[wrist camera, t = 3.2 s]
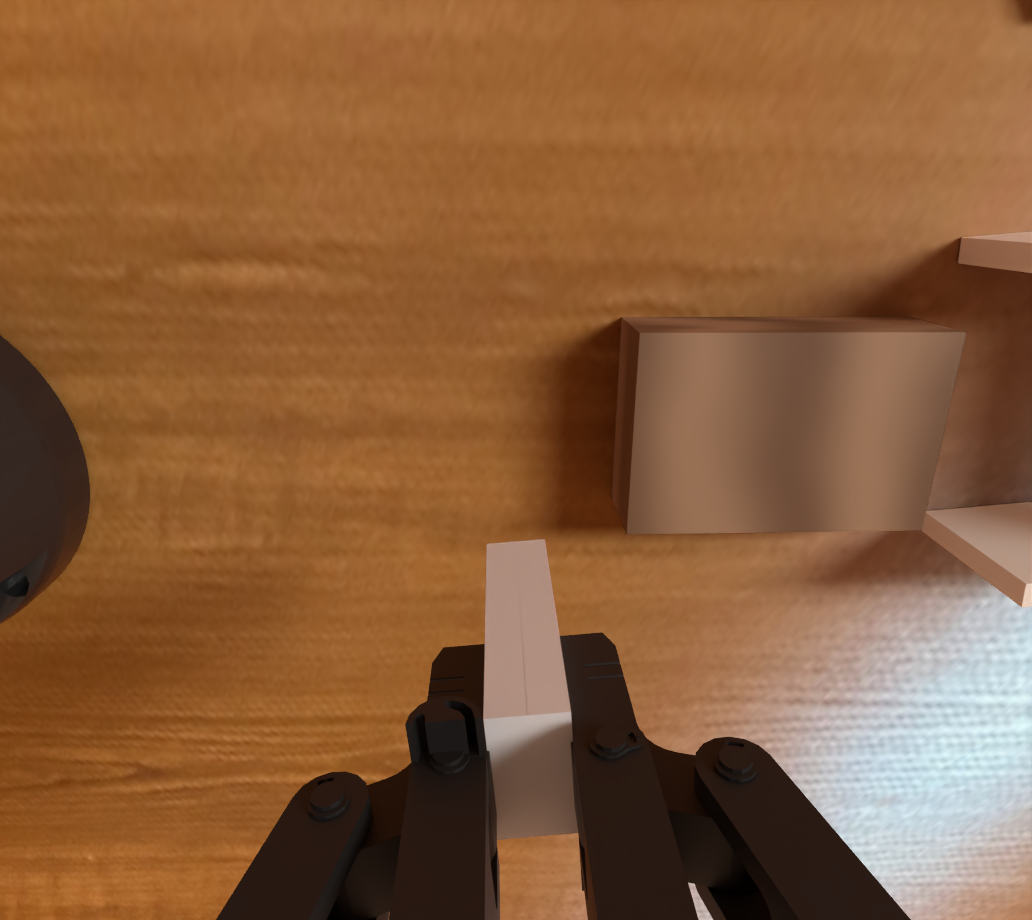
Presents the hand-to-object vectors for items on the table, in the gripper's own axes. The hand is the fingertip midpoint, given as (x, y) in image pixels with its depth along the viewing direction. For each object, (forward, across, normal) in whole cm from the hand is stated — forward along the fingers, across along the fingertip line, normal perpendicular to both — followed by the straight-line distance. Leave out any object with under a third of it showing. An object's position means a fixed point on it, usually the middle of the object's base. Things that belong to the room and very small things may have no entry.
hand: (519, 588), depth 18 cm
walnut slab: (+13, +11, 0) cm, 17 cm away
